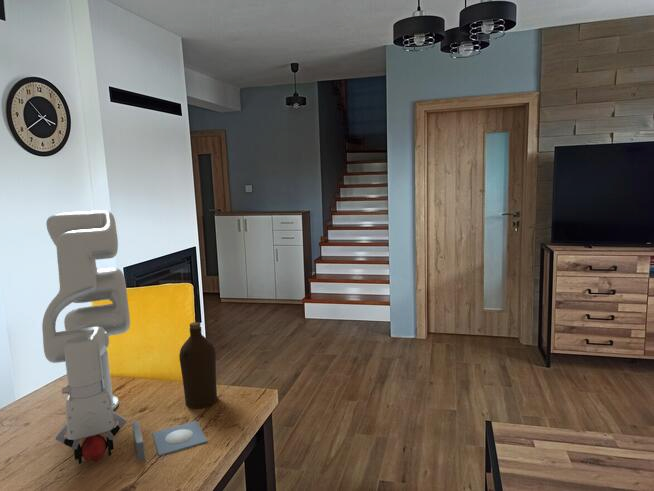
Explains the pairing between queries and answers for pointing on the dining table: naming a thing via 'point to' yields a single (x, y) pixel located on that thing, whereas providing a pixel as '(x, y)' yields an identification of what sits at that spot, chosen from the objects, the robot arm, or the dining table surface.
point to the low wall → (138, 441)
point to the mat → (178, 438)
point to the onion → (93, 448)
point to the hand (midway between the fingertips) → (95, 456)
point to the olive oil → (198, 369)
